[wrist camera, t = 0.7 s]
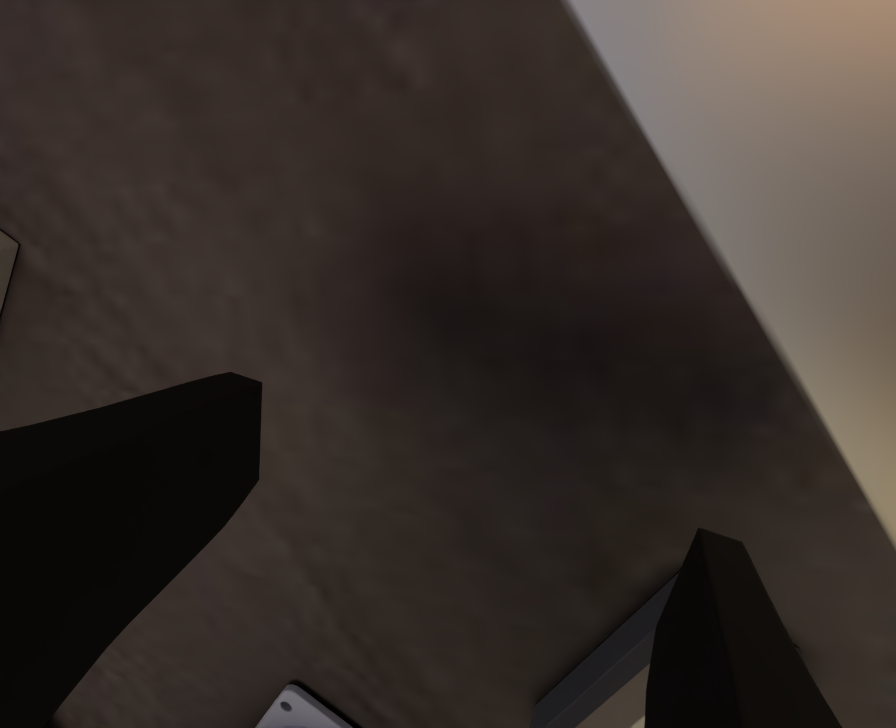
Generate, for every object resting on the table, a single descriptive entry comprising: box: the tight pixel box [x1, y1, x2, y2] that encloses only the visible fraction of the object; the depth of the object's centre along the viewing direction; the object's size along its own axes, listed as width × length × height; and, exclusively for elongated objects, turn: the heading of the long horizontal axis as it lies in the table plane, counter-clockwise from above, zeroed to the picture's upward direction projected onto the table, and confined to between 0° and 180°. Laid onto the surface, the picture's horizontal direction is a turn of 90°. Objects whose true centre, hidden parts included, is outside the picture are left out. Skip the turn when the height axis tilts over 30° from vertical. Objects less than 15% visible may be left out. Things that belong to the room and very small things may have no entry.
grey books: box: [530, 572, 802, 728], centre depth 22 cm, size 8×4×4 cm, turn 148°
